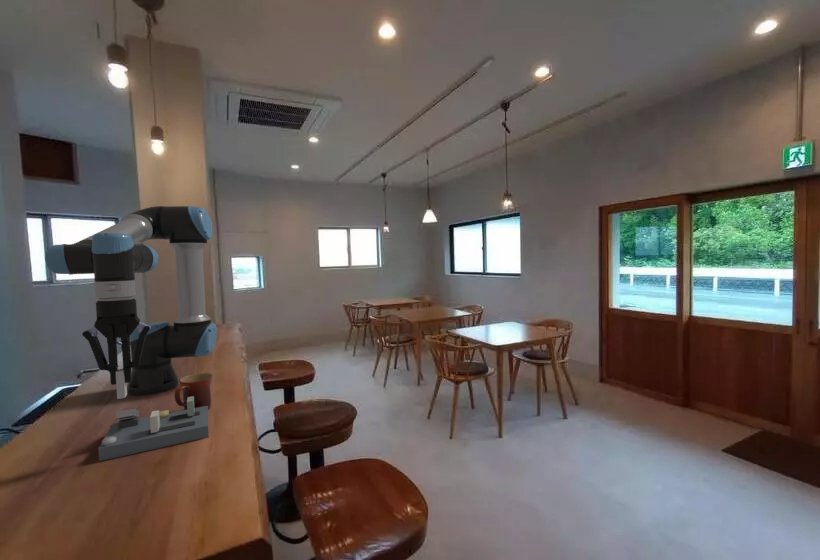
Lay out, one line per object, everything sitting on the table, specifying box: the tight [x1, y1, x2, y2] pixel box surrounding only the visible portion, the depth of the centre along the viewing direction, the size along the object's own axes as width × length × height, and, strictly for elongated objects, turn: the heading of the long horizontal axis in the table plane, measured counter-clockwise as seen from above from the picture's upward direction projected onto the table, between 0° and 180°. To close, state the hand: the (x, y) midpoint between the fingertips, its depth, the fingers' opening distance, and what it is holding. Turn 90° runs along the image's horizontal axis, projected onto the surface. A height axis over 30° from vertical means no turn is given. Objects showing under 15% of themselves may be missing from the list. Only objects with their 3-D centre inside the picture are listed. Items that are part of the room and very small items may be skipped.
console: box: [97, 406, 210, 462], centre depth 96 cm, size 15×22×4 cm
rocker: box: [115, 408, 140, 420], centre depth 96 cm, size 8×4×2 cm, turn 29°
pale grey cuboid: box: [150, 410, 160, 433], centre depth 92 cm, size 4×2×4 cm, turn 29°
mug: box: [174, 372, 213, 411], centre depth 110 cm, size 12×9×10 cm
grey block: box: [187, 396, 195, 416], centre depth 101 cm, size 4×2×4 cm, turn 29°
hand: (122, 396), depth 89 cm, fingers closed
